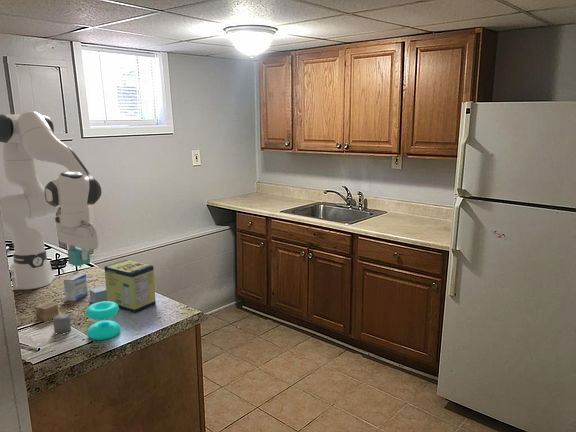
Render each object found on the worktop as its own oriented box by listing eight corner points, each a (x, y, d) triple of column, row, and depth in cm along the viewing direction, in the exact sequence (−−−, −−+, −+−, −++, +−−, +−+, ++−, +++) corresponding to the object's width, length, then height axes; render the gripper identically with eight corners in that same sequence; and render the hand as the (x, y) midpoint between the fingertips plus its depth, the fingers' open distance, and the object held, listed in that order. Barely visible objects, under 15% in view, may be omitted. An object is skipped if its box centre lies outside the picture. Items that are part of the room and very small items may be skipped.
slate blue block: (90, 301, 178) (89, 289, 177) (103, 298, 181) (102, 286, 180) (95, 305, 174) (94, 292, 173) (108, 301, 178) (107, 289, 177)
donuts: (87, 301, 152) (119, 298, 155) (89, 329, 154) (121, 326, 156) (83, 313, 142) (117, 310, 145) (85, 343, 144) (119, 339, 147)
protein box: (128, 296, 183) (125, 259, 180) (156, 304, 176) (154, 265, 172) (106, 305, 174) (103, 266, 171) (135, 313, 167) (132, 273, 164)
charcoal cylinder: (51, 332, 152) (50, 317, 151) (66, 326, 156) (64, 312, 155) (59, 336, 149) (57, 321, 148) (74, 330, 153) (72, 316, 152)
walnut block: (36, 320, 161) (35, 306, 160) (49, 314, 165) (47, 301, 164) (45, 322, 159) (44, 309, 158) (58, 317, 163) (57, 304, 162)
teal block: (68, 263, 160) (67, 249, 159) (82, 260, 164) (81, 246, 163) (76, 266, 157) (75, 252, 156) (90, 262, 161) (89, 249, 160)
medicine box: (75, 301, 178) (73, 280, 176) (65, 300, 179) (63, 279, 177) (88, 294, 185) (86, 273, 184) (78, 293, 186) (76, 273, 184)
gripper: (101, 221, 154) (104, 261, 157) (69, 214, 166) (72, 251, 169) (83, 224, 149) (86, 265, 152) (51, 217, 161) (55, 255, 164)
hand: (79, 257), depth 160 cm, fingers closed on teal block, 5 cm apart
